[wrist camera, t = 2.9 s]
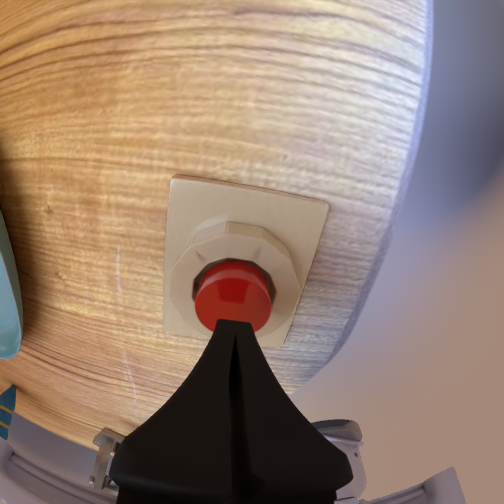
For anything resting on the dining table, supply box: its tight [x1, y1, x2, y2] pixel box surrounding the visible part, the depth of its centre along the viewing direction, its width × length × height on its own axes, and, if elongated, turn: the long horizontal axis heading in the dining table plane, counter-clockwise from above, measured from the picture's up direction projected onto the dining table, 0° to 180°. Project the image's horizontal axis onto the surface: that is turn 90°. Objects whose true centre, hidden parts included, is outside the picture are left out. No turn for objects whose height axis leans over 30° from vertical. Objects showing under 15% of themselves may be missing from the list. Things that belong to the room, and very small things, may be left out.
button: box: [195, 261, 272, 333], centre depth 13 cm, size 4×4×2 cm
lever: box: [101, 442, 121, 496], centre depth 22 cm, size 12×5×2 cm, turn 142°
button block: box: [163, 175, 329, 348], centre depth 15 cm, size 10×8×2 cm
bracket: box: [88, 428, 125, 491], centre depth 24 cm, size 8×7×10 cm
